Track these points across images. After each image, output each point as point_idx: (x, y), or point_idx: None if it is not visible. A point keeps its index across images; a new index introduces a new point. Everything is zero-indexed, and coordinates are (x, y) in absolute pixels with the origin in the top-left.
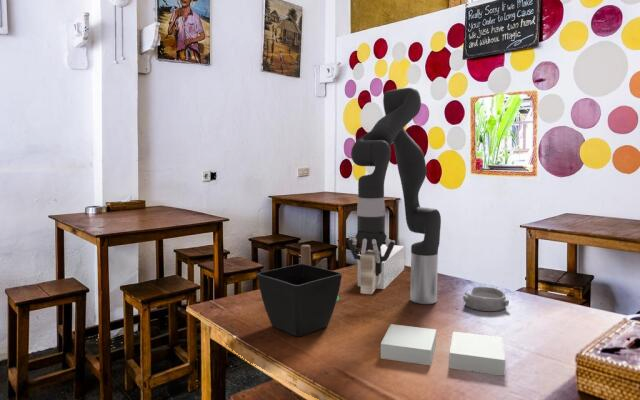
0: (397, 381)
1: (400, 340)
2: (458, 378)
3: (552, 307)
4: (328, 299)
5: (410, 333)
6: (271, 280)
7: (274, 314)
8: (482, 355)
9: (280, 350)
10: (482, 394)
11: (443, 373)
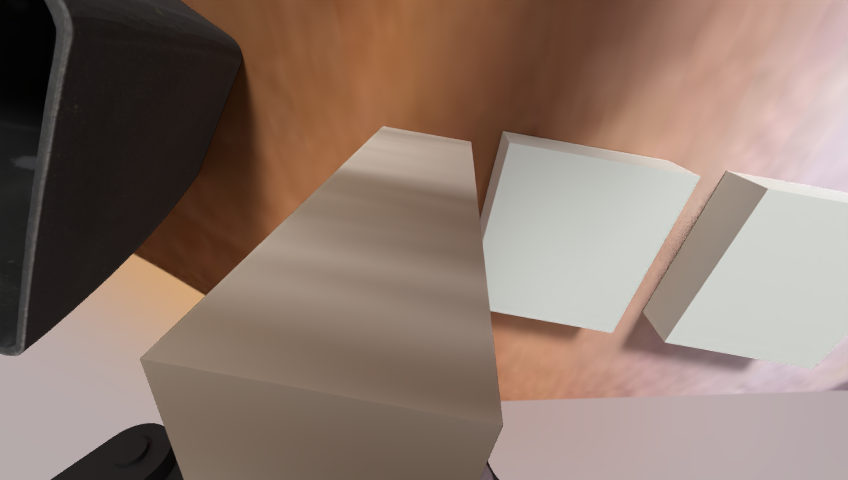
0: (499, 366)
1: (529, 282)
2: (645, 349)
3: None
4: (171, 111)
5: (576, 226)
6: None
7: (23, 141)
8: (760, 350)
9: (196, 262)
10: (669, 395)
11: (616, 333)
